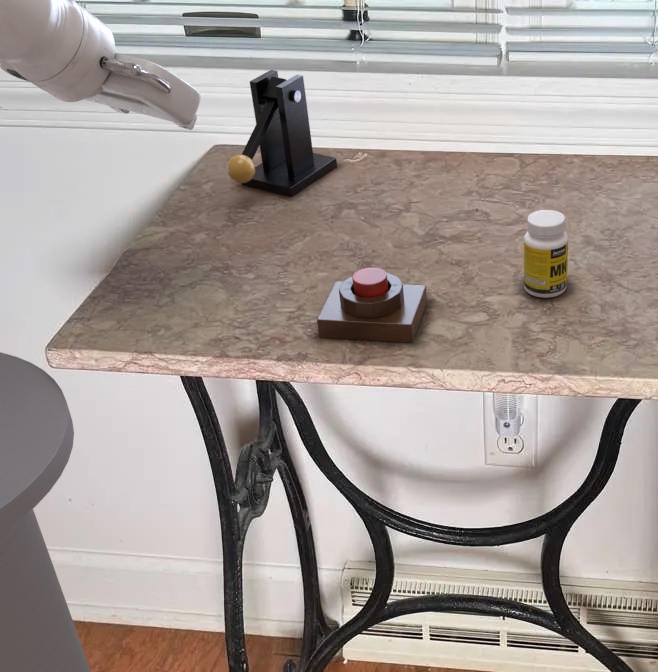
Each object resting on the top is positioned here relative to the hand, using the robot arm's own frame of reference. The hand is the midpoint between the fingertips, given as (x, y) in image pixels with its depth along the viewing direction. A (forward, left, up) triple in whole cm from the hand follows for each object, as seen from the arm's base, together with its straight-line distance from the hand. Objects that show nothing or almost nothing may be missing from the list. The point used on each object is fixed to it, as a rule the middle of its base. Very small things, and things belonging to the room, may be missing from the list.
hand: (157, 114), depth 129 cm
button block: (+8, -28, -16) cm, 33 cm away
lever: (+16, +8, -10) cm, 21 cm away
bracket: (+20, +9, -16) cm, 27 cm away
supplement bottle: (+26, -35, -17) cm, 47 cm away
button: (+8, -28, -13) cm, 32 cm away
